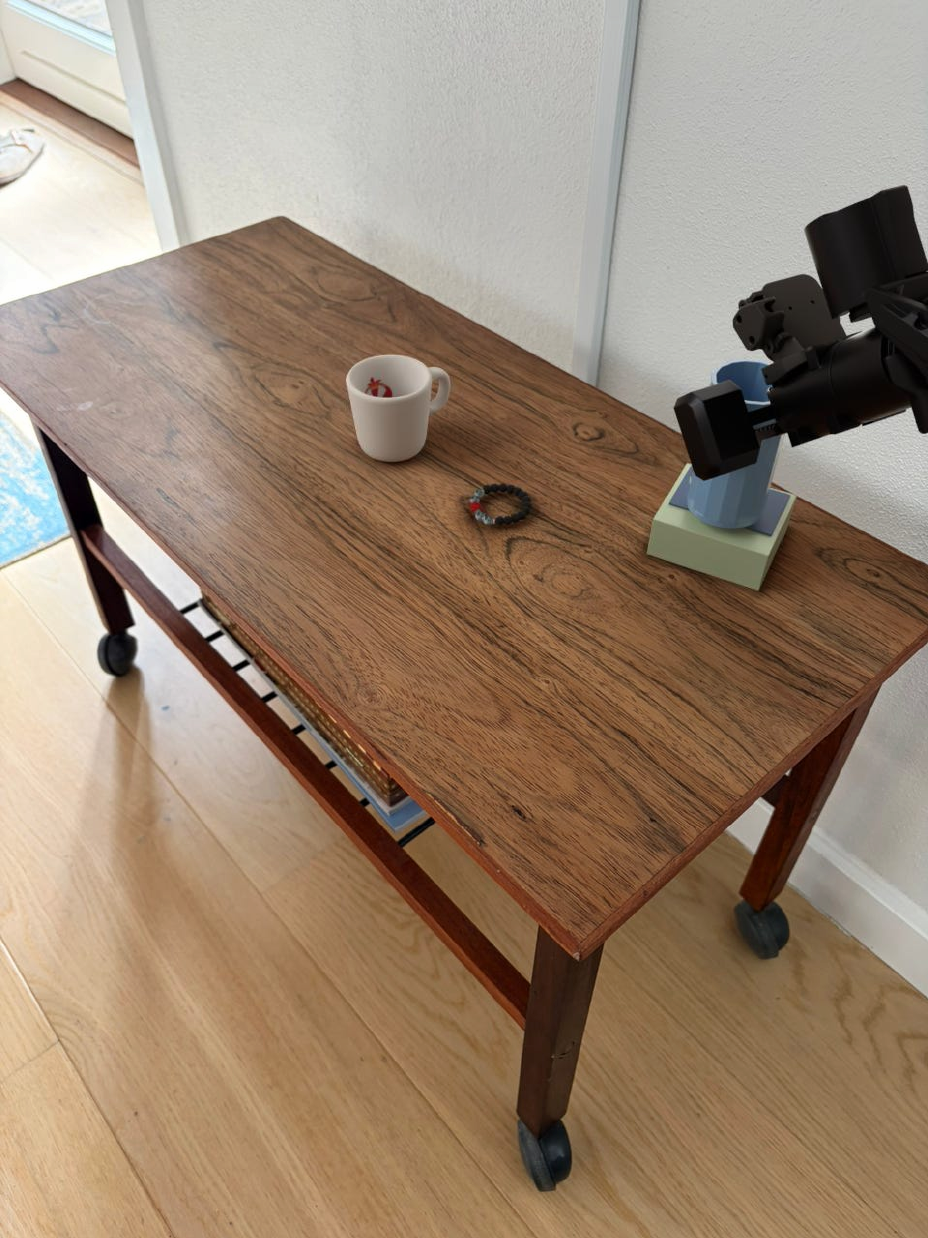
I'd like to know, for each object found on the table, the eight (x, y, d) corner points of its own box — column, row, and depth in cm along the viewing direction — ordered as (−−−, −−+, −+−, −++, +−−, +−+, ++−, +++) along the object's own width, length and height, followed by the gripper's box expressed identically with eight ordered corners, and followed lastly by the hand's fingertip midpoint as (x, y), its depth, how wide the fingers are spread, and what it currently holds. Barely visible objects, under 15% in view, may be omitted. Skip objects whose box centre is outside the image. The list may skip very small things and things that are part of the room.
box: (786, 530, 92) (797, 493, 89) (758, 591, 86) (769, 554, 83) (680, 497, 95) (687, 460, 92) (646, 554, 89) (653, 517, 86)
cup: (424, 405, 105) (423, 335, 100) (472, 441, 101) (473, 370, 95) (336, 442, 101) (329, 371, 95) (381, 481, 96) (377, 409, 90)
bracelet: (463, 493, 95) (463, 484, 94) (522, 485, 96) (523, 477, 95) (476, 532, 91) (477, 523, 90) (538, 524, 92) (539, 515, 91)
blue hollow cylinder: (776, 523, 85) (811, 398, 76) (703, 533, 84) (731, 409, 75) (744, 477, 89) (774, 354, 80) (675, 487, 88) (698, 364, 79)
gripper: (932, 232, 70) (789, 309, 85) (714, 290, 64) (601, 363, 79) (979, 387, 71) (829, 436, 86) (768, 459, 65) (646, 500, 80)
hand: (729, 431), depth 82 cm, fingers closed on blue hollow cylinder, 6 cm apart
